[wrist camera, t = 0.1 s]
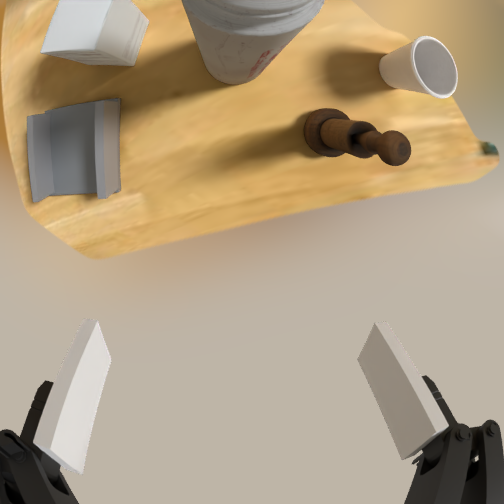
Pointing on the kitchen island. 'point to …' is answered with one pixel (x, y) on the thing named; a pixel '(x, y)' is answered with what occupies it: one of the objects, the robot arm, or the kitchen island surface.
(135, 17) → the supplement box
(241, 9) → the thermos bottle
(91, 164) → the holder
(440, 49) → the dixie cup
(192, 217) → the kitchen island surface
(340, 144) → the brown wooden turned piece
